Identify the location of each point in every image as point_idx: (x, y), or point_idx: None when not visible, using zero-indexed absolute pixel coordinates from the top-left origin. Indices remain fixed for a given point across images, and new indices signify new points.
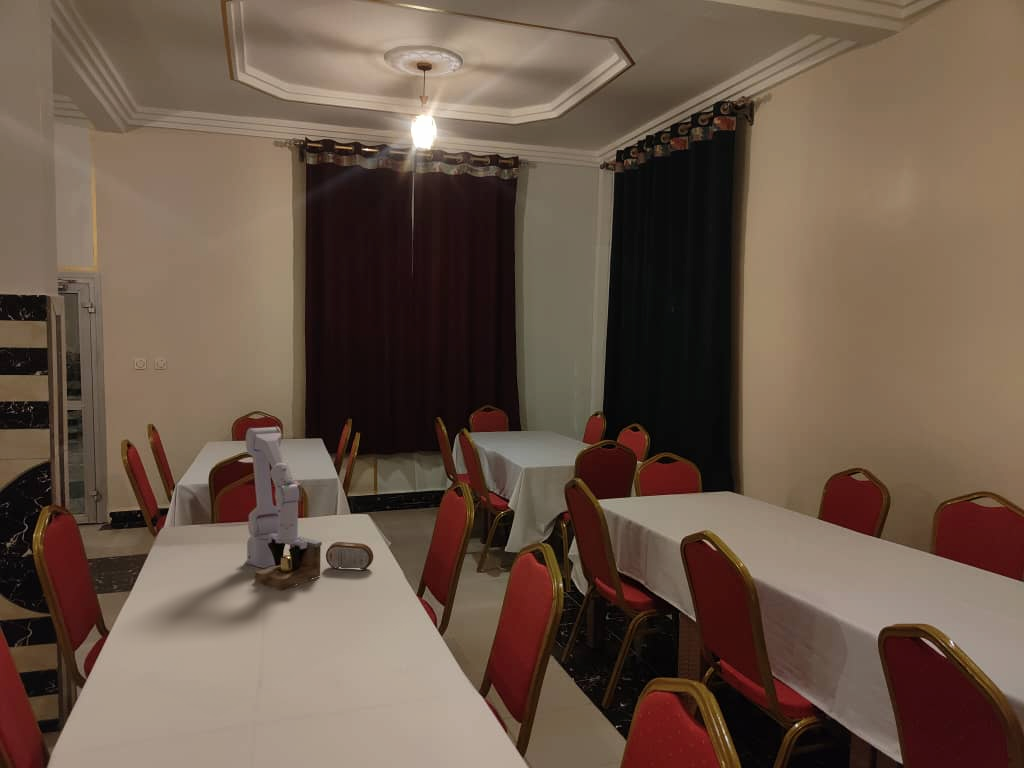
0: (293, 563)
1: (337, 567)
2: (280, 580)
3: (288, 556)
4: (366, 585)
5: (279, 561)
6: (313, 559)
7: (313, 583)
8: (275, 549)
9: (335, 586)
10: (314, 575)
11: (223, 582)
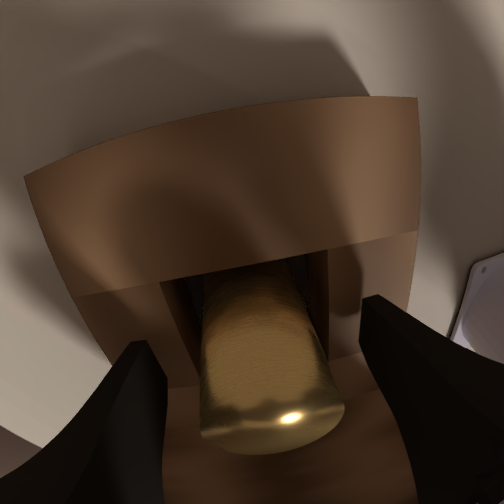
0: (96, 391)
1: None
2: (47, 166)
3: (281, 437)
4: (27, 412)
5: (374, 343)
6: (187, 468)
7: (96, 345)
8: (458, 420)
9: (34, 371)
10: None
11: (462, 4)
